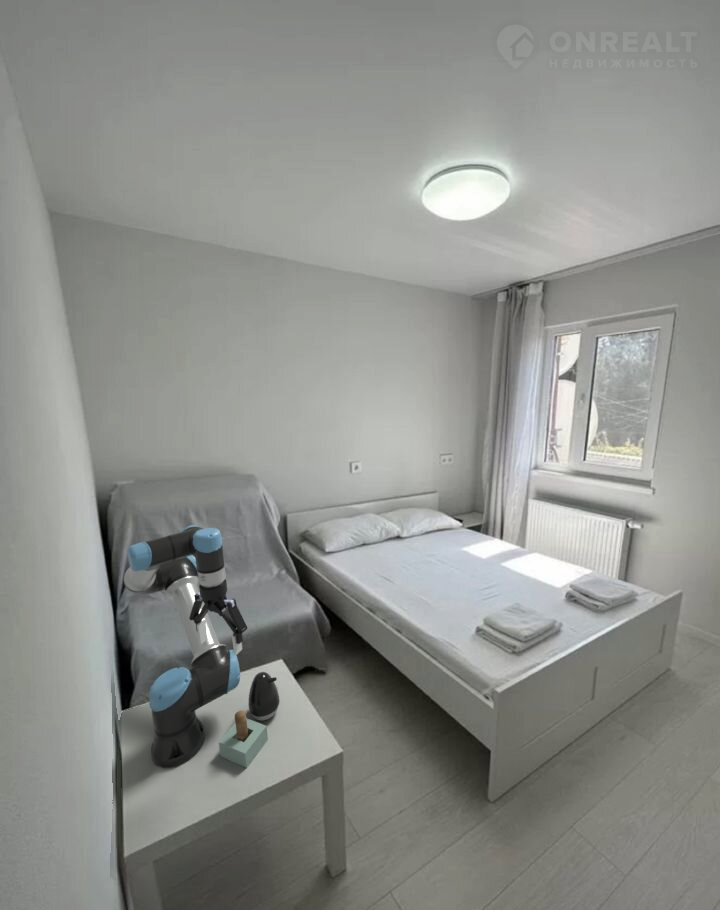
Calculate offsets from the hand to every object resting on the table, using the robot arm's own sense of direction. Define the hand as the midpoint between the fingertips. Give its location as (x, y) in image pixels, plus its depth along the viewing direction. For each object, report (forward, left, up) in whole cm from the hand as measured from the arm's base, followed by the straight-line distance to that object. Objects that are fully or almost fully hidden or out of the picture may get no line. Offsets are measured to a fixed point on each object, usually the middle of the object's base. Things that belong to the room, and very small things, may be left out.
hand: (220, 646), depth 119 cm
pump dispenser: (+4, +12, -33) cm, 35 cm away
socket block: (+6, -1, -33) cm, 33 cm away
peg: (+6, -1, -33) cm, 33 cm away
